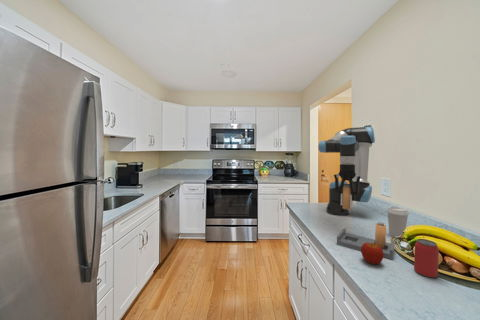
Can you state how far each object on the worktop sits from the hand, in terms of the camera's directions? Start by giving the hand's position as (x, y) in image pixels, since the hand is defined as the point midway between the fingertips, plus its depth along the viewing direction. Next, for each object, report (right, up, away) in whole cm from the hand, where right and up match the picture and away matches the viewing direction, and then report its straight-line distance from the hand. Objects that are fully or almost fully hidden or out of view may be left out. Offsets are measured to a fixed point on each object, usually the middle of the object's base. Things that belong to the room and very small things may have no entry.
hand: (346, 205), depth 112 cm
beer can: (+10, -18, -37) cm, 42 cm away
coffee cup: (+25, -16, -4) cm, 30 cm away
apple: (-5, -17, -29) cm, 34 cm away
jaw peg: (0, -2, 0) cm, 2 cm away
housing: (+1, -16, -15) cm, 22 cm away
